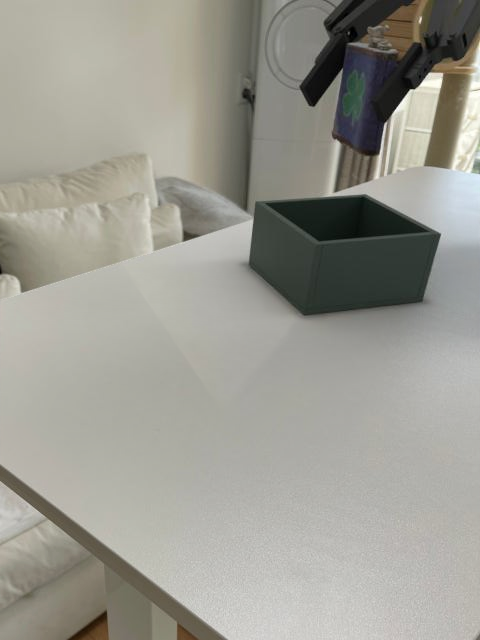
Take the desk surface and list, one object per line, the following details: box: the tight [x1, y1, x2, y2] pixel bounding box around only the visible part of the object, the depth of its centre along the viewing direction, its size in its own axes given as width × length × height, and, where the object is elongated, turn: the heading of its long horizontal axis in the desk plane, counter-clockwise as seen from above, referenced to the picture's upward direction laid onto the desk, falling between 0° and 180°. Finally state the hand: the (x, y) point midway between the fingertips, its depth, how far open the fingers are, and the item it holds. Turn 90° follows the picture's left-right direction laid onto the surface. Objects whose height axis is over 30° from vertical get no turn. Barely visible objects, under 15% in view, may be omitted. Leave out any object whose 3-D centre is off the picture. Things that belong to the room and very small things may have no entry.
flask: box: [331, 24, 400, 157], centre depth 64 cm, size 9×3×11 cm, turn 8°
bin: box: [248, 193, 442, 316], centre depth 73 cm, size 15×15×8 cm
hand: (340, 104), depth 64 cm, fingers closed on flask, 8 cm apart
